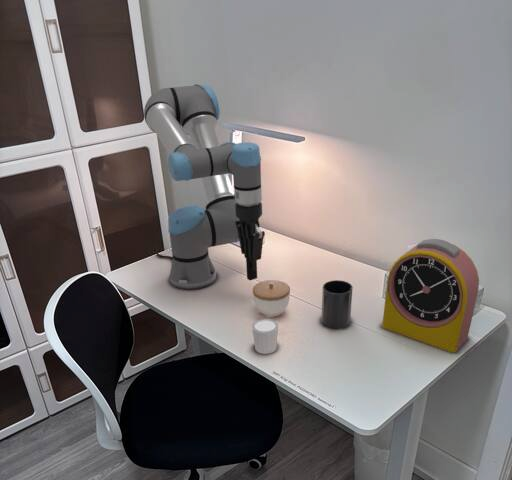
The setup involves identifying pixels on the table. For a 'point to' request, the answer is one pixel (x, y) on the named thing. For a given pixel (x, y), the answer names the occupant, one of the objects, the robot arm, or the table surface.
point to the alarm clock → (432, 294)
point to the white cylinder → (265, 335)
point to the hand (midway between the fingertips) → (252, 278)
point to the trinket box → (271, 297)
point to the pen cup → (336, 304)
